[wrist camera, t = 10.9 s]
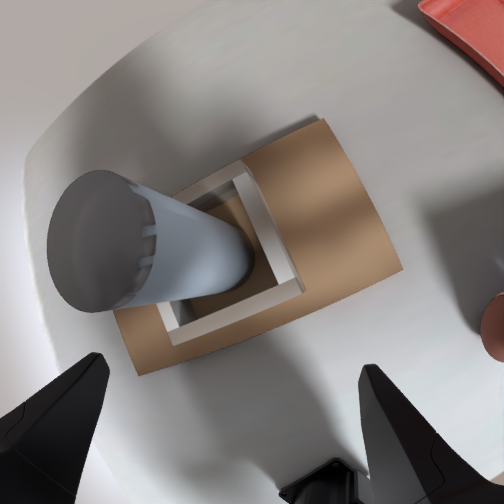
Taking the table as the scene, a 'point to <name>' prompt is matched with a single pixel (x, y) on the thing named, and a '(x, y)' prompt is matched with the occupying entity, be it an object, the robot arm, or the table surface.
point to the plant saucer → (471, 29)
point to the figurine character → (494, 328)
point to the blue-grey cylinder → (139, 247)
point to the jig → (272, 249)
